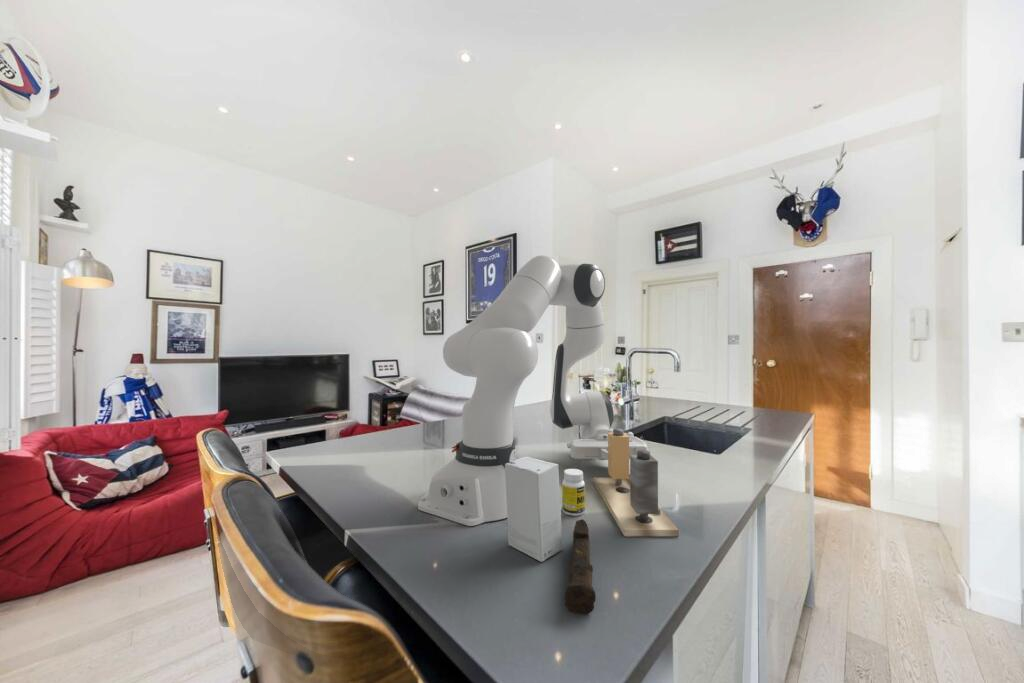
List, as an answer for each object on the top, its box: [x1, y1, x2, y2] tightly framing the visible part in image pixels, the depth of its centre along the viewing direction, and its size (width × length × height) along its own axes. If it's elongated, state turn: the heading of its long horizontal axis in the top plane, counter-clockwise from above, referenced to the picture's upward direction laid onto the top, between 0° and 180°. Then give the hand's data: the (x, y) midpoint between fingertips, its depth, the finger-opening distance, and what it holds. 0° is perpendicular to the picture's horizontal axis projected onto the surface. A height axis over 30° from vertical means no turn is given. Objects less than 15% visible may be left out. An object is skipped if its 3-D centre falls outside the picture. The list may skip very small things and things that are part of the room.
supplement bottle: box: [561, 468, 586, 517], centre depth 78 cm, size 5×5×8 cm
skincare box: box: [505, 456, 563, 563], centre depth 65 cm, size 8×6×15 cm
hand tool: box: [564, 518, 597, 614], centre depth 58 cm, size 19×4×5 cm, turn 166°
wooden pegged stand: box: [593, 450, 680, 537], centre depth 81 cm, size 10×26×14 cm, turn 0°
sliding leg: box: [607, 428, 630, 484], centre depth 90 cm, size 4×4×13 cm
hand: (615, 458), depth 92 cm, fingers closed, pressing on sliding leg
